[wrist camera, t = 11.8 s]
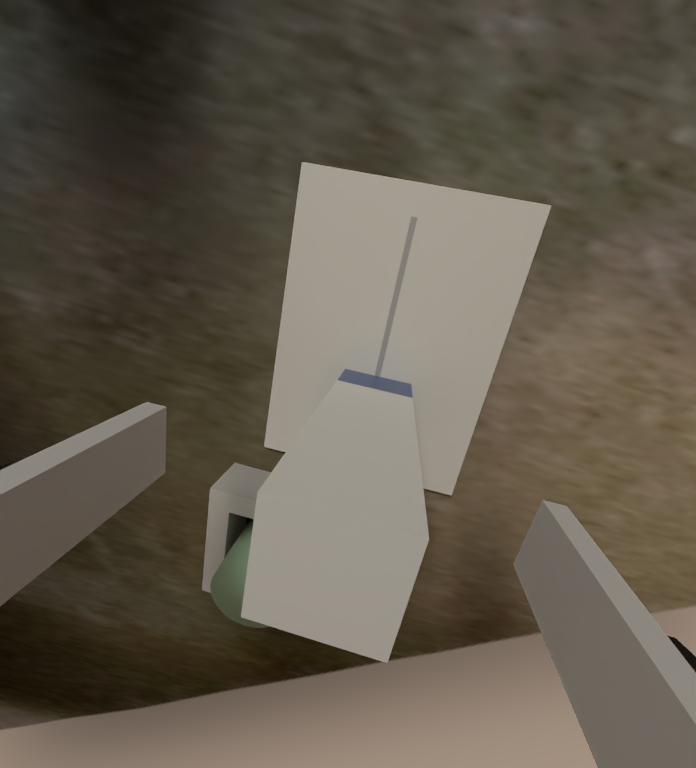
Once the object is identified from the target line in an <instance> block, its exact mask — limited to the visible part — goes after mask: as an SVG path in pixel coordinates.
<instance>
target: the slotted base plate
mask: <svg viewBox="0 0 696 768" xmlns="http://www.w3.org/2000/svg"><path fill="white" fill-rule="evenodd" d="M550 208H551V205H546V204H540V203H534V202H528V201H523V200H517V199H511V198H506V197H500V196H494V195H488V194H483V193H477V192H471V191H465V190H460V189H454V188H448V187H443V186H437V185H431V184H425V183H420V182H414V181H408V180H402V179H397V178H391V177H385V176H380V175H374V174H368V173H362V172H357V171H351V170H345V169H339V168H334V167H328V166H322V165H317V164H311V163H305V162H302V165H301V173H300V180H299V188H298V195H297V203H296V210H295V218H294V225H293V233H292V240H291V248H290V255H289V263H288V270H287V278H286V285H285V293H284V300H283V308H282V315H281V323H280V330H279V338H278V345H277V353H276V360H275V368H274V375H273V383H272V391H271V398H270V406H269V413H268V421H267V428H266V436H265V443H264V447H267V448H271V449H275V450H278V451H282V452H286V451H287V450H288V448H289V447H290V446H291V444H292V443H293V441H294V440H295V439H296V437H297V436H298V434H299V433H300V432H301V430H302V429H303V427H304V426H305V425H306V423H307V422H308V420H309V419H310V418H311V416H312V415H313V413H314V412H315V411H316V409H317V408H318V406H319V405H320V404H321V402H322V401H323V399H324V398H325V397H326V395H327V394H328V392H329V391H330V390H331V388H332V387H333V385H334V384H335V383H336V381H337V380H338V378H339V377H340V376H341V374H342V373H343V371H344V370H345V369H349V370H353V371H357V372H361V373H366V374H370V375H374V376H379V377H383V378H387V379H391V380H396V381H400V382H404V383H409V384H411V387H412V396H413V404H414V413H415V421H416V430H417V439H418V447H419V456H420V465H421V473H422V482H423V488H424V489H428V490H432V491H435V492H439V493H443V494H447V495H451V496H452V493H453V490H454V487H455V484H456V481H457V478H458V475H459V472H460V469H461V467H462V464H463V461H464V458H465V455H466V452H467V449H468V446H469V443H470V440H471V438H472V435H473V432H474V429H475V426H476V423H477V420H478V417H479V414H480V411H481V409H482V406H483V403H484V400H485V397H486V394H487V391H488V388H489V385H490V382H491V380H492V377H493V374H494V371H495V368H496V365H497V362H498V359H499V356H500V353H501V351H502V348H503V345H504V342H505V339H506V336H507V333H508V330H509V327H510V324H511V322H512V319H513V316H514V313H515V310H516V307H517V304H518V301H519V298H520V295H521V293H522V290H523V287H524V284H525V281H526V278H527V275H528V272H529V269H530V266H531V264H532V261H533V258H534V255H535V252H536V249H537V246H538V243H539V240H540V237H541V235H542V232H543V229H544V226H545V223H546V220H547V217H548V214H549V211H550Z"/></svg>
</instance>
